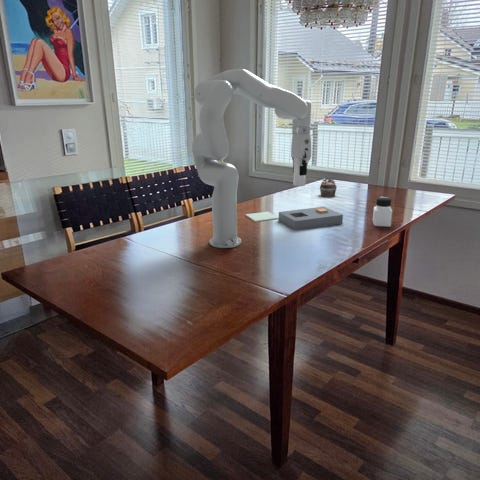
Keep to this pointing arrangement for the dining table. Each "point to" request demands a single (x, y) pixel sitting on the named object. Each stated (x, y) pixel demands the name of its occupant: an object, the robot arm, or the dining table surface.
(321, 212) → the tan cube
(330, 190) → the cupcake
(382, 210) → the medicine bottle
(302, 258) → the dining table surface
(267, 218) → the mat
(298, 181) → the cylinder
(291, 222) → the housing
